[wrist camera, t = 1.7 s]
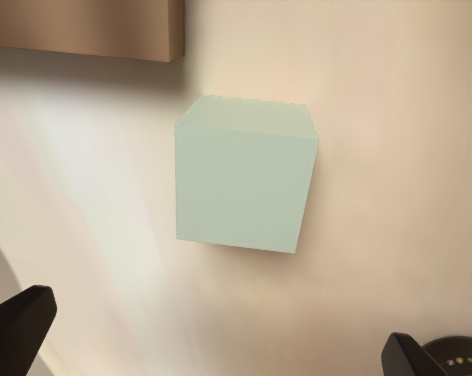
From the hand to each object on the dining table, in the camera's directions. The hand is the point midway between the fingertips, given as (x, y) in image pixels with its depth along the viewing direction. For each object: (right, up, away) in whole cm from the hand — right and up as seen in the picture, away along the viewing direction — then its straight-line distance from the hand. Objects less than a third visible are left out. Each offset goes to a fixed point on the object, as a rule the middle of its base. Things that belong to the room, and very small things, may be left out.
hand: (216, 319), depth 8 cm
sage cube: (+1, +6, +11) cm, 13 cm away
